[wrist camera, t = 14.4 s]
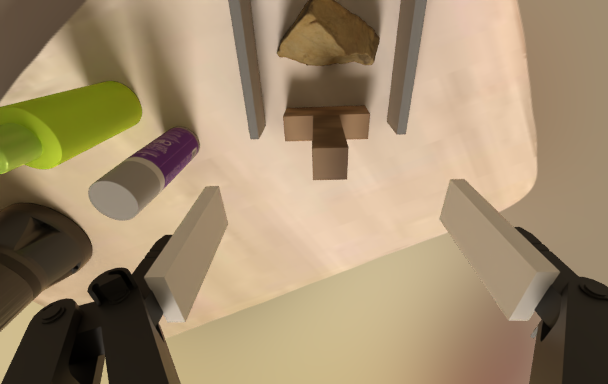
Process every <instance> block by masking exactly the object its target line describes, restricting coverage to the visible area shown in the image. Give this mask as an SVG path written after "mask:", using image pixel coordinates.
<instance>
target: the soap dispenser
mask: <svg viewBox="0 0 608 384" xmlns="http://www.w3.org/2000/svg"><path fill="white" fill-rule="evenodd" d="M141 116H142V108H141V104H140V102H139V100H138V98H137V97H136V95H135V94H134V93H133V92H132V91H131V90H130V89H129V88H128V87H126V86H125V85H123V84H121V83H118V82H115V81H106V82H102V83H98V84H93V85H89V86H85V87H81V88H77V89H73V90H69V91H64V92H60V93H56V94H52V95H48V96H44V97H40V98H36V99H31V100H27V101H23V102H19V103H15V104H11V105H7V106H3V107H0V174H4V173H6V172H9V171H11V170H13V169H15V168H17V167H20V166H22V165H27V166H29V167H33V168H37V169H50V168H53V167H55V166H57V165H59V164H61V163H63V162H65V161H67V160H69V159H71V158H73V157H75V156H76V155H78V154H80V153H82V152H84V151H86V150H88V149H90V148H92V147H94V146H96V145H98V144H99V143H101V142H103V141H105V140H107V139H109V138H111V137H113V136H115V135H117V134H119V133H121V132H122V131H124V130H126V129H128V128H130V127H132V126H134V125H136V124H137V123H138V122H139V121H140V119H141Z"/></svg>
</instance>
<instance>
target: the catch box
mask: <svg viewBox="0 0 608 384" xmlns="http://www.w3.org/2000/svg"><path fill="white" fill-rule="evenodd" d="M228 1H229V7H230V14H231V20H232V26H233V32H234V39H235V45H236V51H237V58H238V64H239V70H240V76H241V83H242V89H243V95H244V101H245V108H246V114H247V120H248V126H249V133H250V139H259V138H260V136H261V134H262V132H263V130H264V128H265V126H266V124H265V116H264V108H263V100H262V92H261V84H260V76H259V68H258V60H257V52H256V44H255V36H254V28H253V20H252V12H251V4H250V0H228ZM426 3H427V0H401V5H400V13H399V22H398V30H397V39H396V47H395V56H394V64H393V73H392V82H391V90H390V99H389V107H388V116H387V123H388V124H389V125H390V126H391V128H392V129H393V130H394V132H395V133H396V134H406V129H407V123H408V117H409V110H410V104H411V98H412V91H413V85H414V79H415V72H416V66H417V60H418V54H419V47H420V41H421V35H422V28H423V22H424V16H425V9H426Z"/></svg>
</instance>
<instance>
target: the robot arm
mask: <svg viewBox="0 0 608 384" xmlns="http://www.w3.org/2000/svg"><path fill="white" fill-rule="evenodd" d="M440 221H441V222H442V224H443V225H444V227H445V228H446V230H447V231H448V233H449V234H450V235H451V237H452V238H453V239H454V241H455V243H456V244H457V246H458V247H459V248H460V250H461V251H462V253H463V254H464V256H465V257H466V259H467V260H468V262H469V263H470V265H471V266H472V268H473V269H474V271H475V272H476V274H477V275H478V277H479V278H480V279H481V281H482V282H483V284H484V285H485V287H486V288H487V290H488V291H489V293H490V294H491V296H492V297H493V298H494V300H495V302H496V303H497V304H498V306H499V307H500V309H501V310H502V312H503V313H504V314H505V316H506V318H507V319H508V320H509V321H516V320H517V321H518V320H519V321H520V320H521V321H523V320H524V321H526V320H529V319H530V317H531V316H532V314H533V313H534V311H536V312H537V314H538V315H539V316H540V317H541V319H542V320H541V321H540V323H539V324H538V326H537V327H536V329H535V330H534V331H533V333H532V335H531V337H532V338H534V337H535V336H536V335H537V336H536V344H535V350H534V356H533V363H532V369H531V376H530V383H529V384H608V287H607V286H605V285H604V284H602V283H599V282H597V281H595V280H593V279H589V278H585V277H579V276H577V275H576V274H575V273H574V272H573V271H572V270H571V269H570V268H569V267H568V266H566V265H565V264H564V263H563V262H562V261H561V260H560V259H559V258H558V257H557V256H556V255H554V254H553V253H552V252H550V251H549V249H548V248H547V247H546V246H545V245H543V244H542V243H541V242H540V241H539V240H538V239H537V238H536V237H535V236H534V235H533V234H531V233H529V232H527V231H526V230H524V229H522V228H520V227H513V226H512V225H511V224H510V223H509V222H508V221H507V220H506V219H505V218H504V217H503V216H502V215H501V214H500V213H499V212H498V211H497V210H496V209H495V208H494V207H493V206H492V205H491V204H489V203H488V202H487V201H486V200H485V199H484V198H483V197H482V196H481V195H480V194H479V193H478V192H477V191H476V190H475V189H474V188H473V187H472V186H471V185H470V184H469V183H468V182H467V181H466V180H465V179H451V180H450V182H449V186H448V189H447V193H446V197H445V200H444V204H443V208H442V211H441V215H440ZM227 225H228V221H227V217H226V213H225V209H224V205H223V201H222V197H221V193H220V189H219V186H209V187H205V189H204V190H203V191H202V193H201V194H200V196H199V197H198V199H197V200H196V202H195V203H194V205H193V206H192V208H191V209H190V211H189V212H188V213H187V215H186V216H185V218H184V219H183V221H182V222H181V224H180V225H179V227H178V228H177V230H176V231H175V232H174V234H173V235H164V236H163V237H162V238H161V239H159V240H158V241H157V242H156V243H155V244H154V245H153V247H152V248H151V249H150V252H148V253H147V255H146V256H145V259H143V260H142V261H141V263H140V264H139V265H138V267H137V268H136V270H135V271H134V272H133V274H132V275H131V273H130V271H129V270H128V269H126V268H114V269H111V270H108V271H106V272H104V273H102V274H101V275H99V276H98V277H97V278H95V279H94V280H93V281H92V283H91V284H90V285H89V287H88V291H87V292H88V293H89V294H90V296H91V297H92V299H93V300H94V301H95V302H91V303H87V304H84V305H80V306H78V305H77V303H76V302H75V301H74V300H73V299H67V298H66V299H62V300H58V301H56V302H53V303H51V304H49V305H48V306H46V307H44V308H43V309H41V310H40V311H39V312H38V313H37V314H36V315H35V316H34V317H33V319H32V320H31V321H30V323H29V325H28V327H27V330H26V332H25V334H24V336H23V338H22V340H21V342H20V345H19V347H18V349H17V351H16V353H15V355H14V358H13V360H12V362H11V364H10V366H9V368H8V370H7V372H6V375H5V377H4V379H3V381H2V383H1V384H100V382H101V377H102V371H103V365H104V360H105V359H106V365H107V373H108V380H109V384H181V383H180V380H179V378H178V375H177V372H176V369H175V366H174V363H173V360H172V358H171V355H170V352H169V349H168V346H167V343H166V341H165V338H164V335H163V332H162V329H161V327H160V325H159V321H160V319H161V317H162V315H164V316H165V318H166V320H167V322H186V319H187V317H188V315H189V313H190V310H191V308H192V306H193V303H194V301H195V299H196V296H197V294H198V292H199V290H200V287H201V285H202V283H203V280H204V278H205V276H206V273H207V271H208V269H209V267H210V264H211V262H212V260H213V257H214V255H215V253H216V250H217V248H218V246H219V244H220V241H221V239H222V237H223V234H224V232H225V230H226V227H227ZM91 256H92V246H91V243H90V241H89V239H88V237H87V236H86V234H85V233H84V232H83V231H82V230H81V229H80V227H78V226H77V225H76V224H75V223H74V222H73V221H71V220H70V219H68V218H67V217H65V216H64V215H62V214H60V213H58V212H56V211H54V210H52V209H49V208H47V207H44V206H40V205H36V204H30V203H18V204H13V205H10V206H8V207H7V208H5V209H3V210H1V211H0V331H1V330H3V328H5V327H6V326H7V325H8V324H9V323H10V322H11V321H12V320H13V319H14V318H15V317H16V316H17V315H18V314H19V313H20V312H21V311H22V310H23V309H24V308H25V307H26V306H27V305H28V304H30V303H31V301H33V300H34V299H35V298H36V297H37V296H38V295H39V294H40V293H41V292H42V291H44V290H45V289H47V288H49V287H51V286H52V285H54V284H56V283H58V282H60V281H61V280H63V279H65V278H67V277H69V276H70V275H72V274H74V273H76V272H77V271H79V270H80V269H81V268H82V267H83V266H84V265H85V264H86V263H87V262H88V261H89V260H90V258H91Z"/></svg>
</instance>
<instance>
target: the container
mask: <svg viewBox="0 0 608 384" xmlns="http://www.w3.org/2000/svg"><path fill="white" fill-rule="evenodd" d="M199 148H200V144H199V140H198V138H197V137H196V135H195V134H194V133H193V132H192V131H190V130H189V129H187V128H184V127H174V128H172V129H170V130H169V131H167V132H166V133H164V134H163V135H161V136H160V137H158V138H157V139H155V140H154V141H152V142H151V143H149V144H148V145H146V146H145V147H143V148H142V149H140V150H139V151H137V152H136V153H135V154H133V155H132V156H130V157H129V158H127V159H126V160H124V161H123V162H122V163H120V164H119V165H118V166H116V167H115V168H114V169H112V170H111V171H110V172H108V173H107V174H105V175H104V176H103V177H101V178H100V179H99V180H97V181H96V182H95V183H93V184H92V185H91V186H90V188H89V193H88V194H89V198H90V201H91V203H92V204H93V206H94V207H95V208H96V209H97V210H98V211H99V212H101V213H102V214H104V215H105V216H107V217H109V218H112V219H115V220H130V219H132V218H134V217H135V216H136V215H137V214H138V213H139V212H140V211H141V210H142V209H143V208H144V207H145V206H146V205H147V204H148V203H150V202H151V201H152V200H153V199H154V198H155V197H156V196H157V195H158V194H159V193H160V192H161V191H162V190H163V189H164V188H165V187H166V186H167V185H168V184H169V183H170V182H171V181H172V180H173V179H174V178H175V176H176V175H177V174H178V173H179V172H180V171H181V170H182V169H183V168H184V167H185V166H186V165H187V164H188V163H189V162H190V161H191V160H192V159H193V158H194V157H195V156H196V154H197V153H198V152H199Z"/></svg>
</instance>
